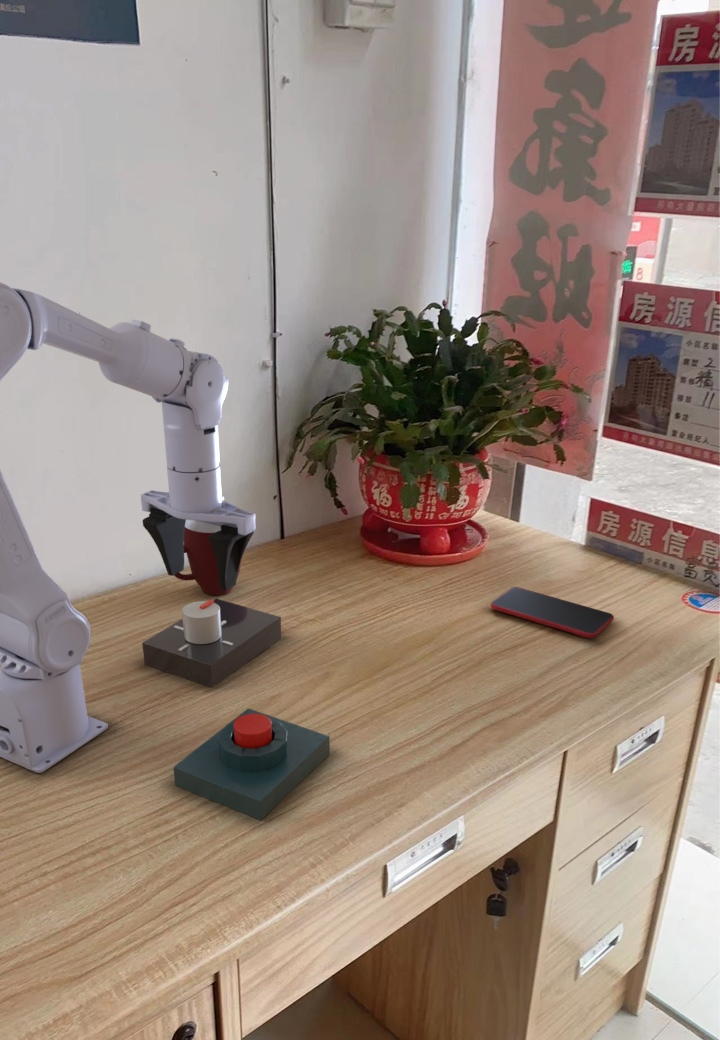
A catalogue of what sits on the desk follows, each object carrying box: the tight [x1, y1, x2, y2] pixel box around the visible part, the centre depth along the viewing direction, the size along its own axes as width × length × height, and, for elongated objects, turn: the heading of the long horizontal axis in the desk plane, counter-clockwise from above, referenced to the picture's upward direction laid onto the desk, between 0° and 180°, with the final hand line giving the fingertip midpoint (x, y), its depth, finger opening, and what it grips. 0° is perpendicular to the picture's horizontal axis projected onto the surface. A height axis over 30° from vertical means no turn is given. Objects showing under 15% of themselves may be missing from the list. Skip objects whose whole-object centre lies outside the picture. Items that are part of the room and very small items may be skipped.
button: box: [234, 714, 272, 748], centre depth 84 cm, size 4×4×2 cm
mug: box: [173, 520, 242, 596], centre depth 120 cm, size 10×8×10 cm
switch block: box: [173, 708, 331, 821], centre depth 86 cm, size 12×10×4 cm
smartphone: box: [490, 586, 615, 639], centre depth 117 cm, size 7×1×15 cm
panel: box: [141, 598, 282, 688], centre depth 107 cm, size 14×10×3 cm
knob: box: [181, 599, 222, 644], centre depth 103 cm, size 4×4×4 cm
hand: (201, 579), depth 102 cm, fingers open, 7 cm apart
